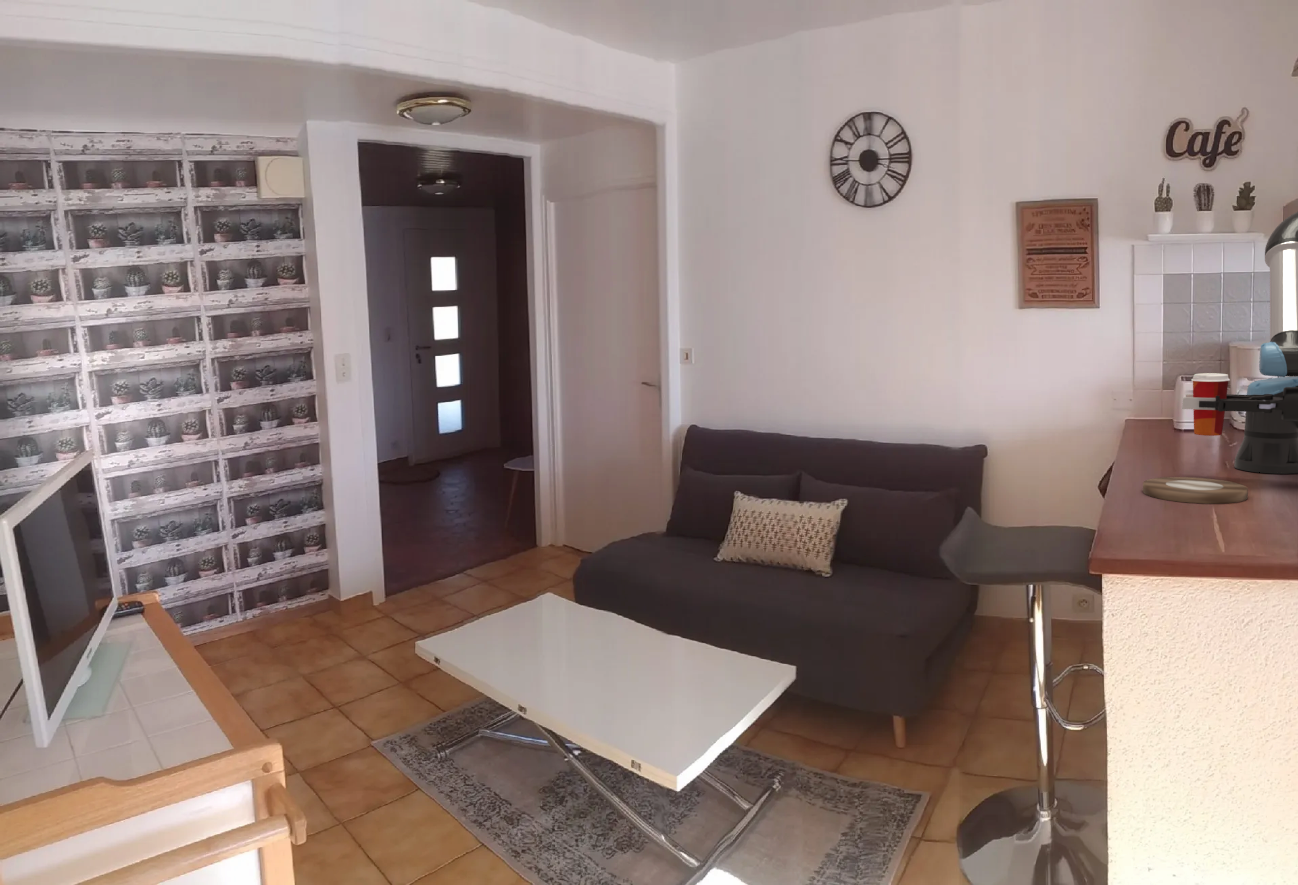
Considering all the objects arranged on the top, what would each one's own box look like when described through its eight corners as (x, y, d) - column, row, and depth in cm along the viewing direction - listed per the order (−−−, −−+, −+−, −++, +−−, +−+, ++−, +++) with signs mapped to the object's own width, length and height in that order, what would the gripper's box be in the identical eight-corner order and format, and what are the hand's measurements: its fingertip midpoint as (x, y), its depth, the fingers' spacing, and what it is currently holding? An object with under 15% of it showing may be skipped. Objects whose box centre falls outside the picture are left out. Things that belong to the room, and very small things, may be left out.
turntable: (1148, 482, 217) (1149, 474, 217) (1249, 489, 205) (1249, 480, 205) (1136, 498, 201) (1137, 489, 200) (1245, 507, 189) (1245, 497, 189)
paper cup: (1216, 431, 218) (1219, 372, 216) (1234, 435, 210) (1237, 375, 208) (1182, 432, 218) (1184, 373, 216) (1198, 436, 211) (1200, 376, 209)
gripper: (1303, 426, 196) (1179, 422, 209) (1302, 415, 211) (1187, 412, 225) (1305, 391, 195) (1180, 389, 208) (1304, 383, 210) (1188, 382, 223)
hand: (1184, 401), depth 216 cm, fingers closed on paper cup, 6 cm apart
